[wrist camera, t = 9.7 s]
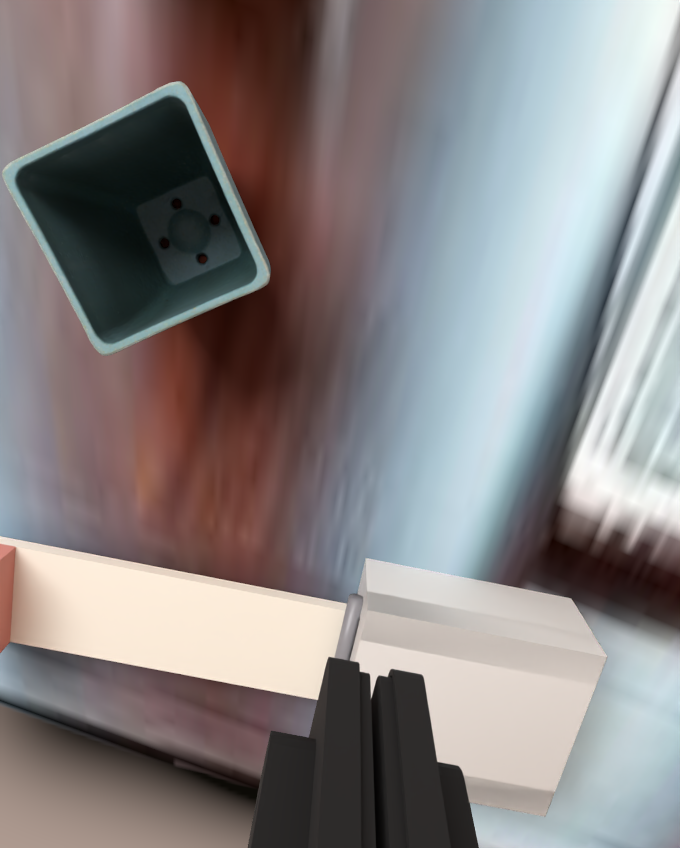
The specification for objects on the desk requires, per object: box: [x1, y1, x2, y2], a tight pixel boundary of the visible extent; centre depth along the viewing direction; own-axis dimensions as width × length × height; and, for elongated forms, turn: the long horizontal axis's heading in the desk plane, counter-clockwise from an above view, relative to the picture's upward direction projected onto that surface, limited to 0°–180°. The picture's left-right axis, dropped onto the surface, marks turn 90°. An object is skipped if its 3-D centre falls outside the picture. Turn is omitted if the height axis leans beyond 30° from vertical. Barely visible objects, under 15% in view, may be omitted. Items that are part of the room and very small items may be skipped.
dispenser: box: [334, 558, 607, 816], centre depth 39 cm, size 15×12×6 cm
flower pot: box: [2, 82, 271, 356], centre depth 30 cm, size 9×9×9 cm
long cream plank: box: [0, 536, 347, 700], centre depth 36 cm, size 26×7×6 cm, turn 78°
